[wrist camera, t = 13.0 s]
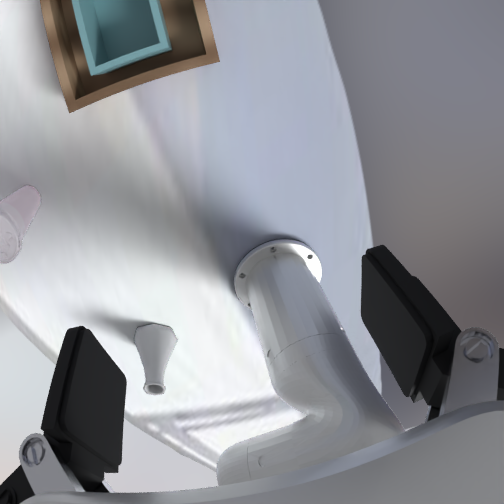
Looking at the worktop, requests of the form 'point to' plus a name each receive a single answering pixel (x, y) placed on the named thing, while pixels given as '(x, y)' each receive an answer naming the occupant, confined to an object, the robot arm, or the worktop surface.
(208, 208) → the worktop surface
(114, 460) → the robot arm
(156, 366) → the flask
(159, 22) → the small crate
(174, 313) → the worktop surface
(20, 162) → the worktop surface
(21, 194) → the smoothie
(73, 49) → the big crate
